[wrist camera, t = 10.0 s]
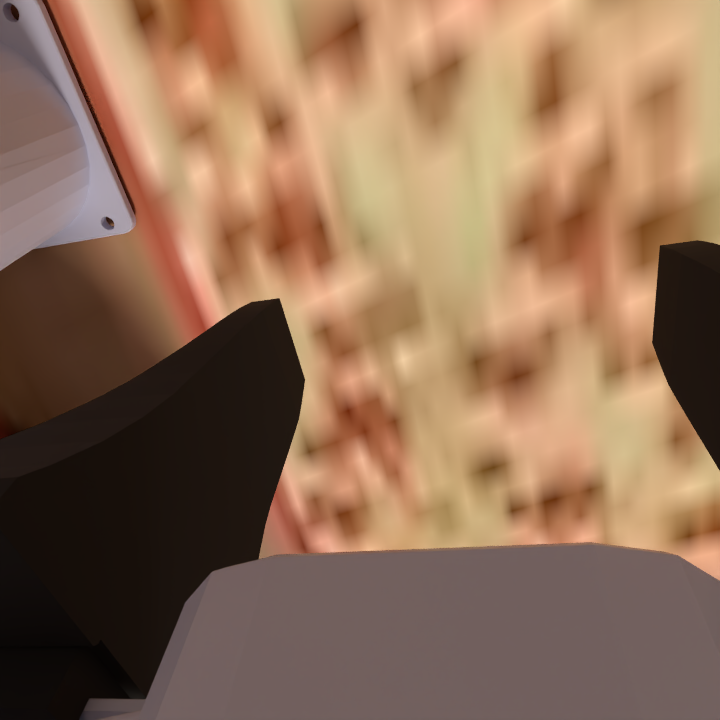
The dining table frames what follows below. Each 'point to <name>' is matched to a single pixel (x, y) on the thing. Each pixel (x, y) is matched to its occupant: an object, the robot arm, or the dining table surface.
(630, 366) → the dining table surface
